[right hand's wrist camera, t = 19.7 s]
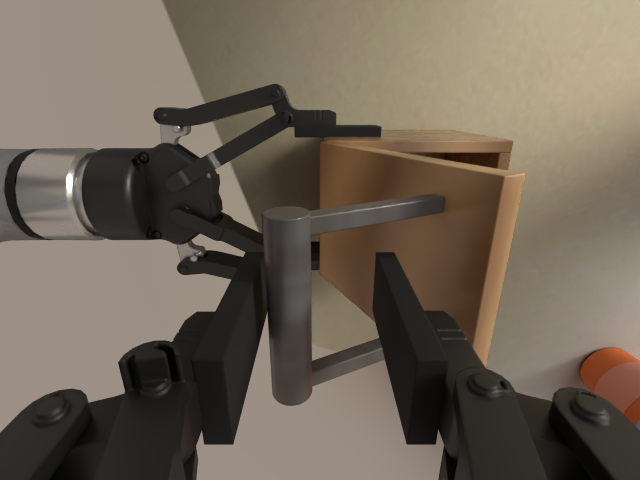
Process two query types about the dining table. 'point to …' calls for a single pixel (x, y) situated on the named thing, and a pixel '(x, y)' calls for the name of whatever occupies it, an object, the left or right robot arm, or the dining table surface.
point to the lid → (386, 236)
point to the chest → (440, 146)
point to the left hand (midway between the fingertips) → (374, 194)
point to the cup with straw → (615, 380)
